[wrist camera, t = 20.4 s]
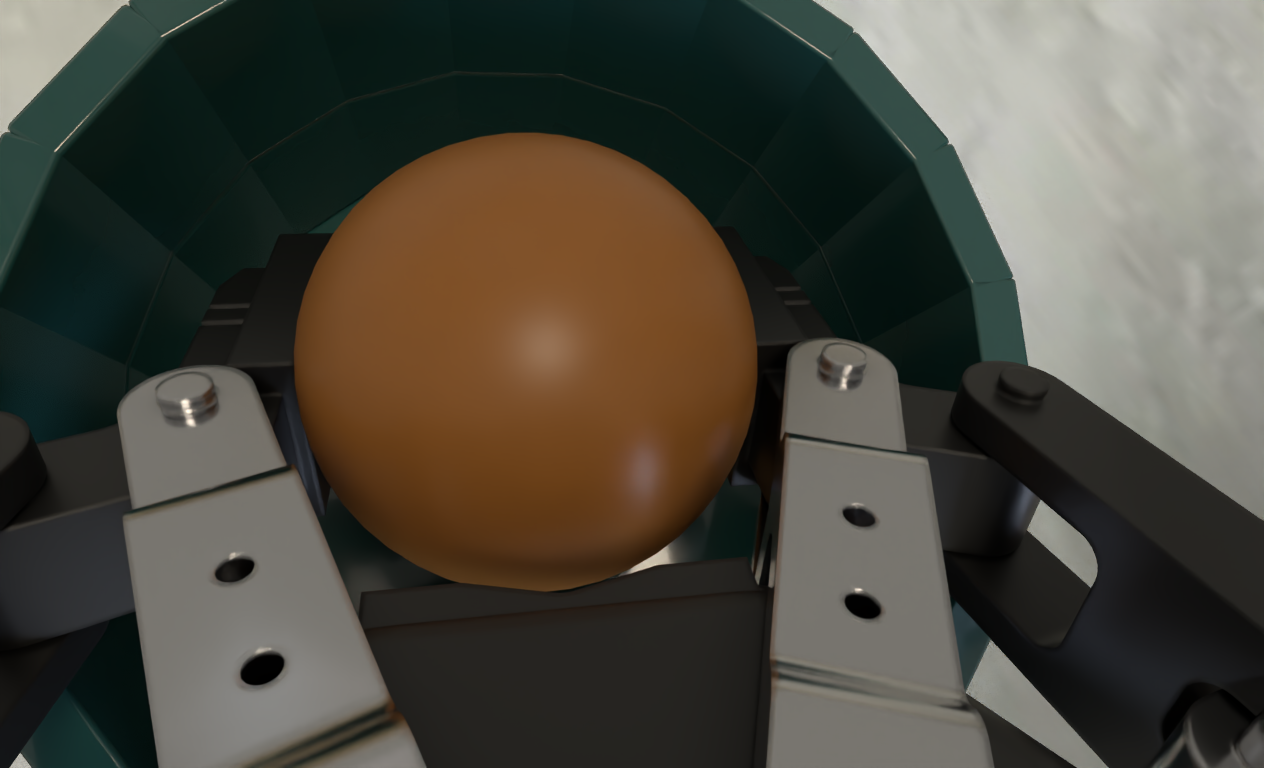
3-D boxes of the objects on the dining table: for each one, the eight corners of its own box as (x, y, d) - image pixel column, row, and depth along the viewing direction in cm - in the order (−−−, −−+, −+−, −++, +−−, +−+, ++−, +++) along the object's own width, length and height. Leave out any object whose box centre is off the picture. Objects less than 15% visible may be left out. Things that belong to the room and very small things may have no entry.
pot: (565, 39, 19) (607, -266, 12) (937, 485, 19) (1218, 451, 11) (31, 387, 16) (-356, 261, 9) (459, 938, 15) (426, 1293, 8)
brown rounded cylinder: (537, 263, 17) (590, -67, 8) (695, 456, 17) (943, 353, 8) (325, 416, 16) (90, 239, 7) (493, 628, 16) (495, 754, 6)
